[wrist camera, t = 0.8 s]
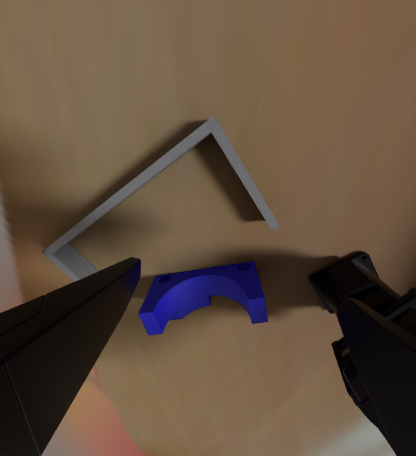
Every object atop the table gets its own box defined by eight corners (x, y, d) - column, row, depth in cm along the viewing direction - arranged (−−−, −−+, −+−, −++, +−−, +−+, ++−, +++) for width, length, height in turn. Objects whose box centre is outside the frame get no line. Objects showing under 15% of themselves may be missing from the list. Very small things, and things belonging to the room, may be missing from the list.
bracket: (272, 216, 20) (279, 225, 18) (123, 301, 26) (114, 317, 24) (214, 119, 17) (214, 115, 15) (58, 241, 23) (41, 252, 21)
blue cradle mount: (166, 302, 26) (153, 345, 21) (156, 275, 24) (138, 313, 19) (258, 290, 25) (269, 333, 19) (253, 260, 23) (264, 297, 17)
